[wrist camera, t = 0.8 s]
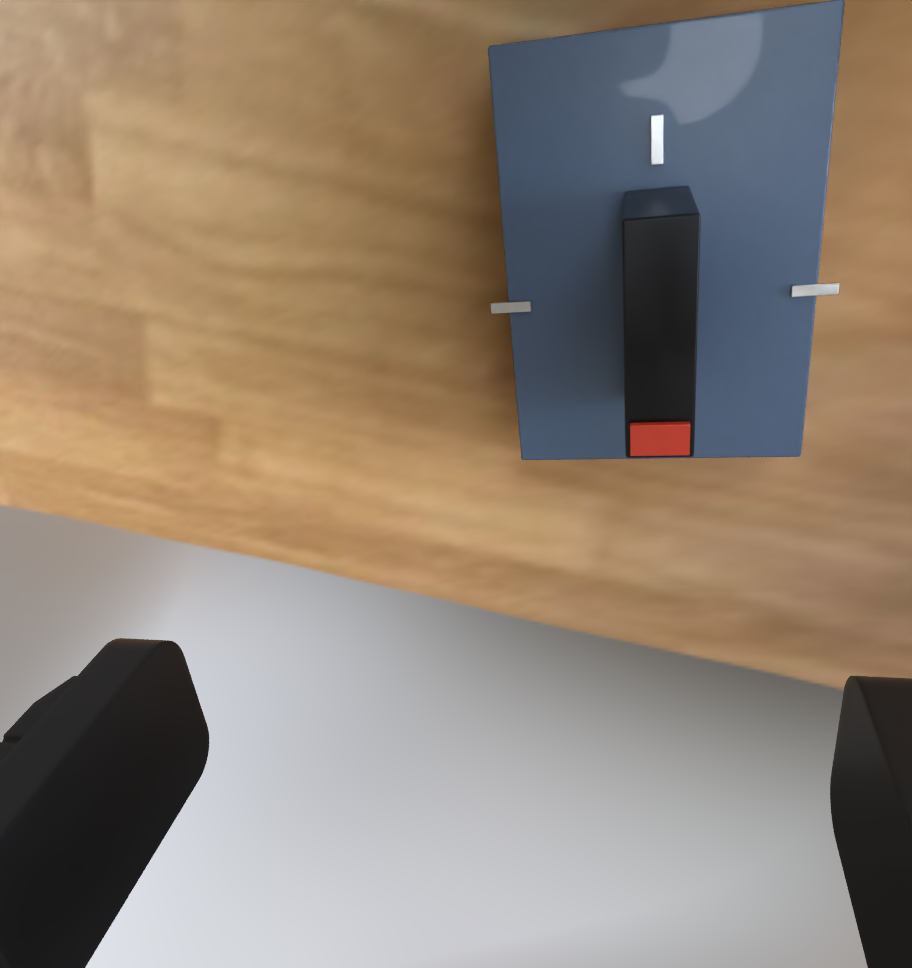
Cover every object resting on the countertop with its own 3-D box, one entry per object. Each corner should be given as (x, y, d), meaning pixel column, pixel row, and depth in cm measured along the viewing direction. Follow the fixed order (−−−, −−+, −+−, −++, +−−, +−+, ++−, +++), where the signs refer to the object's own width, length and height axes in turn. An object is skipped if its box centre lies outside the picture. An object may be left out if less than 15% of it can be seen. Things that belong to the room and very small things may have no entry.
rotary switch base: (484, 49, 27) (466, 48, 24) (844, 1, 24) (870, -5, 22) (516, 429, 33) (505, 462, 30) (803, 422, 31) (820, 458, 28)
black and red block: (624, 190, 25) (621, 221, 21) (690, 185, 25) (701, 214, 20) (627, 397, 28) (625, 462, 24) (685, 395, 28) (694, 461, 23)
